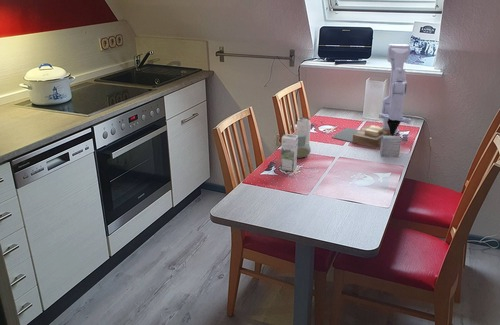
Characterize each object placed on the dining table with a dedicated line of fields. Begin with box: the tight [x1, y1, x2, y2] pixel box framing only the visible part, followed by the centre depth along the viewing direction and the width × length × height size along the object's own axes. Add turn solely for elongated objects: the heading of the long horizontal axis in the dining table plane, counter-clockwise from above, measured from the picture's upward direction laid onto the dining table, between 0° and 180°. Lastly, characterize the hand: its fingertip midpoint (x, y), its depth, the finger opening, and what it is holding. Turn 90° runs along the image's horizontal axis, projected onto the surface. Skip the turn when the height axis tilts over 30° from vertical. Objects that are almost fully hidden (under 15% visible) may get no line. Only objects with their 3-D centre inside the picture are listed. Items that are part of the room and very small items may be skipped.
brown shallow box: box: [351, 124, 391, 149], centre depth 223 cm, size 18×12×4 cm, turn 145°
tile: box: [365, 124, 384, 136], centre depth 222 cm, size 9×6×2 cm, turn 145°
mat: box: [331, 127, 361, 143], centre depth 230 cm, size 18×11×1 cm, turn 145°
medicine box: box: [379, 135, 402, 158], centre depth 205 cm, size 8×4×9 cm, turn 84°
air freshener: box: [292, 132, 312, 159], centre depth 203 cm, size 11×8×10 cm
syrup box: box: [280, 133, 298, 172], centre depth 189 cm, size 6×6×14 cm
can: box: [295, 117, 312, 145], centre depth 217 cm, size 6×6×12 cm
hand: (392, 135), depth 217 cm, fingers closed
